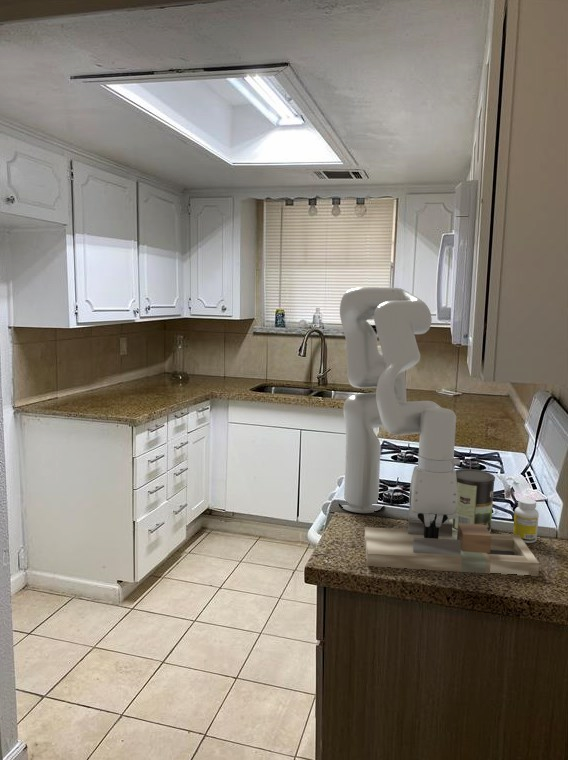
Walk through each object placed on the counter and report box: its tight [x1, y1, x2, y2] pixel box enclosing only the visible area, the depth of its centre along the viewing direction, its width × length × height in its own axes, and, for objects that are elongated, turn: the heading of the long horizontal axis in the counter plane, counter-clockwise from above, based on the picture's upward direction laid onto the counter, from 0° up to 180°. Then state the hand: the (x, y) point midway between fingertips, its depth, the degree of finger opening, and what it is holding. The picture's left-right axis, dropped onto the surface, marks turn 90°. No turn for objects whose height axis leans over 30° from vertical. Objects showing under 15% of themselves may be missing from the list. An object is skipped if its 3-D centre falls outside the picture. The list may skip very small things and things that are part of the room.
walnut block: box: [457, 523, 492, 553], centre depth 129 cm, size 6×6×4 cm
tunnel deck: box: [363, 519, 540, 577], centre depth 131 cm, size 14×36×6 cm, turn 85°
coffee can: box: [449, 468, 496, 534], centre depth 146 cm, size 10×10×14 cm
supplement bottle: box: [512, 497, 540, 544], centre depth 140 cm, size 5×5×10 cm
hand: (430, 541), depth 131 cm, fingers closed
